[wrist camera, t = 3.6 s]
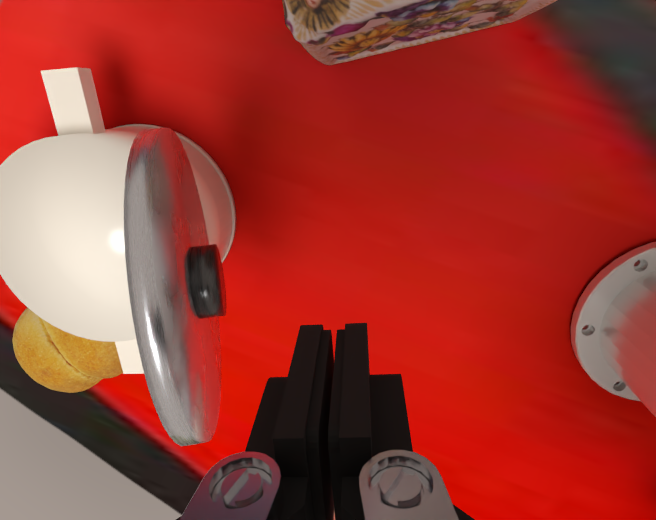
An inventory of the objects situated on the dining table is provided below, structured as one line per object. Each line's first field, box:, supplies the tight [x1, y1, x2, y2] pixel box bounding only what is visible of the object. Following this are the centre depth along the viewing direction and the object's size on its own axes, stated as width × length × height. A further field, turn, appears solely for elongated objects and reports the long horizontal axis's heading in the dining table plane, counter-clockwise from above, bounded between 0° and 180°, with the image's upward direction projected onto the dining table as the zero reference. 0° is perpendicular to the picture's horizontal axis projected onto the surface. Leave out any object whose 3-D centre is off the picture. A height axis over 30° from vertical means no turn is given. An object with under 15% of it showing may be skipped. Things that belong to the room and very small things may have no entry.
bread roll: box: [12, 308, 123, 393], centre depth 35 cm, size 8×9×4 cm
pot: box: [0, 67, 236, 374], centre depth 29 cm, size 12×18×8 cm, turn 4°
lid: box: [124, 128, 226, 446], centre depth 19 cm, size 12×12×2 cm
